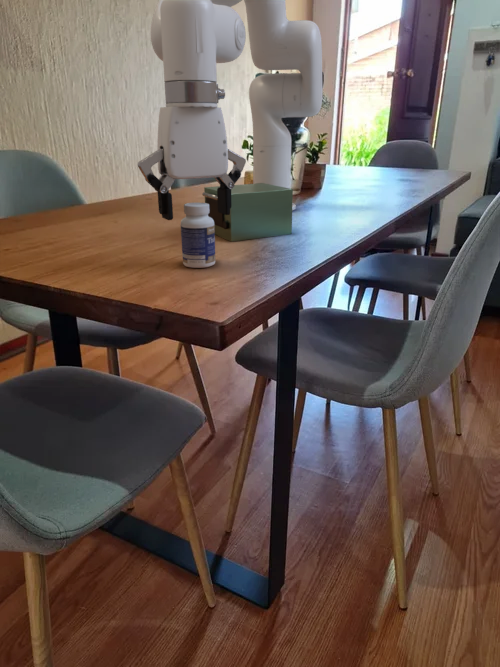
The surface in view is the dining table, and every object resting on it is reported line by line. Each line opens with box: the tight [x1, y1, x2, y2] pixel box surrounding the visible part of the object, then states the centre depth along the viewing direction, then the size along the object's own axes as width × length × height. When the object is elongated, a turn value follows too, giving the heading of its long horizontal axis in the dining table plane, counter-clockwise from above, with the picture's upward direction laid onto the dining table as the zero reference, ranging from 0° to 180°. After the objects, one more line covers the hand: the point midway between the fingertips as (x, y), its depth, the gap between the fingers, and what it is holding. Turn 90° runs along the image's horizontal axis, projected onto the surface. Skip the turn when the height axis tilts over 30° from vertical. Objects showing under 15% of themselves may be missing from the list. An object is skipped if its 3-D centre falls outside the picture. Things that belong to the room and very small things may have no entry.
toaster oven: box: [202, 183, 294, 243], centre depth 105 cm, size 12×15×9 cm
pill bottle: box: [180, 201, 216, 269], centre depth 82 cm, size 5×5×10 cm
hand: (196, 216), depth 80 cm, fingers open, 9 cm apart
